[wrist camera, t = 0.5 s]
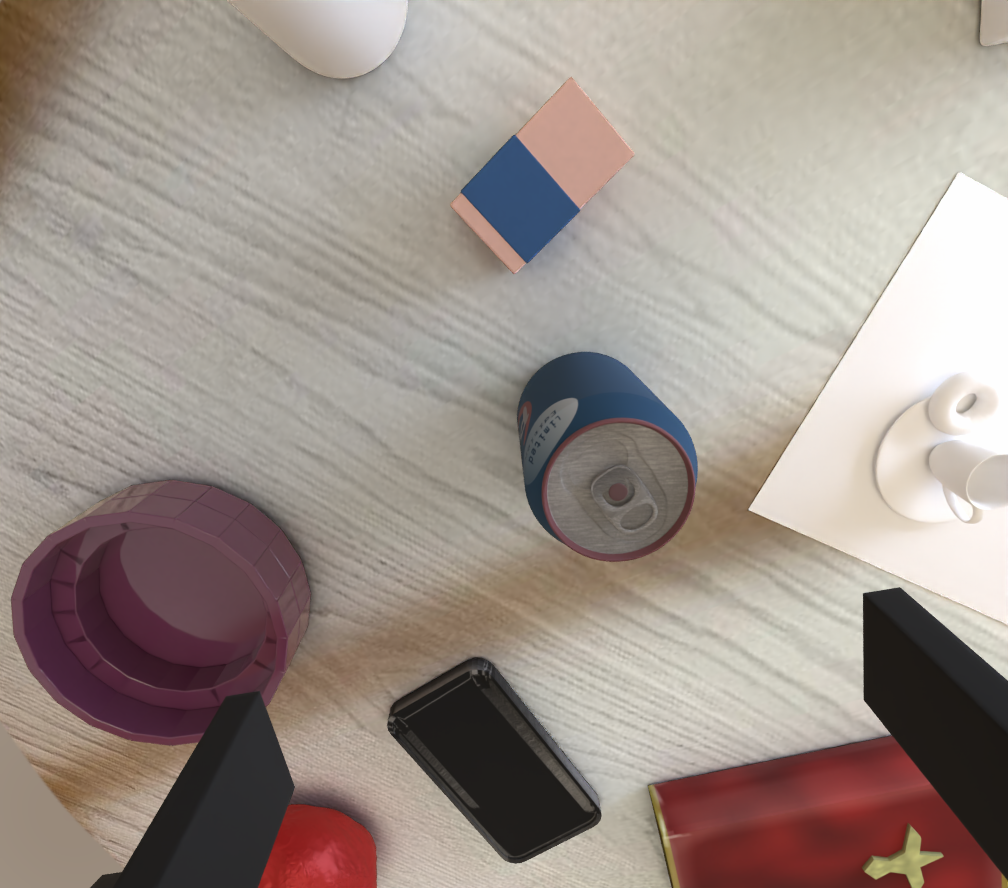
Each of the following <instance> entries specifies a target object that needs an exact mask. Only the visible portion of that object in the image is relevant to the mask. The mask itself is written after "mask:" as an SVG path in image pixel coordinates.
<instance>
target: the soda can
mask: <svg viewBox="0 0 1008 888" xmlns="http://www.w3.org/2000/svg"><path fill="white" fill-rule="evenodd" d="M517 422H518V431H519V440H520V449H521V457H522V466H523V475H524V484H525V491H526V496H527V499H528V503H529V505H530V508H531V510H532V512H533V514H534V515H535V517H536V519H537V520H538V521H539V523H540V524H541V525H542V526H543V528H544V529H545V530H546V531H547V532H548V533H549V534H551V535H552V536H553V537H554V538H556V539H557V540H559V541H560V542H562V543H563V544H565V545H567V546H568V547H569V548H571V549H572V550H574V551H576V552H577V553H579V554H581V555H584V556H586V557H589V558H592V559H596V560H601V561H609V562H619V561H628V560H633V559H637V558H640V557H643V556H646V555H648V554H650V553H652V552H654V551H656V550H658V549H659V548H661V547H662V546H664V545H665V544H666V543H668V542H669V541H670V540H671V539H672V538H673V537H674V536H675V535H676V534H677V533H678V532H679V530H680V529H681V528H682V526H683V525H684V523H685V522H686V520H687V518H688V516H689V514H690V511H691V509H692V506H693V502H694V497H695V487H696V482H697V472H698V466H697V456H696V451H695V448H694V444H693V442H692V439H691V437H690V435H689V433H688V431H687V430H686V428H685V427H684V425H683V424H682V423H681V421H680V420H679V419H678V418H677V417H676V416H675V415H674V414H673V413H672V412H671V411H670V410H669V409H668V408H667V407H666V406H665V405H664V404H663V403H662V402H661V401H660V400H659V399H658V398H657V397H656V396H655V395H654V394H653V393H652V392H651V391H650V389H649V388H648V387H647V386H646V385H645V384H644V383H643V382H642V381H641V380H640V379H639V378H638V377H637V376H636V375H635V374H634V373H633V372H632V371H631V370H630V369H629V368H628V367H626V366H625V365H624V364H622V363H621V362H619V361H618V360H616V359H614V358H612V357H609V356H607V355H603V354H599V353H593V352H577V353H571V354H567V355H564V356H561V357H558V358H556V359H554V360H552V361H550V362H549V363H547V364H546V365H544V366H543V367H542V368H541V369H539V370H538V371H537V372H536V373H535V374H534V375H533V377H532V378H531V379H530V381H529V382H528V383H527V385H526V387H525V389H524V391H523V393H522V395H521V398H520V402H519V406H518V413H517Z"/></svg>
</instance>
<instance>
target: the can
mask: <svg viewBox="0 0 1008 888" xmlns="http://www.w3.org/2000/svg"><path fill="white" fill-rule="evenodd" d="M227 1H228V2H229V3H230V4H232V5H233V6H234V7H235V8H236V9H237V10H238V11H239V12H241V13H242V14H243V15H244V16H245V17H246V18H247V19H249V20H250V21H251V22H252V23H253V24H254V25H255V26H256V27H258V28H259V29H260V30H261V31H262V32H263V33H264V34H266V35H267V36H268V37H269V38H270V39H271V40H272V41H274V42H275V43H276V44H277V45H278V46H279V47H281V48H282V49H283V50H284V51H285V52H286V53H288V54H289V55H290V56H291V57H292V58H293V59H295V60H296V61H297V62H299V63H300V64H301V65H303V66H304V67H306V68H307V69H309V70H311V71H313V72H315V73H317V74H320V75H323V76H327V77H331V78H353V77H357V76H361V75H364V74H366V73H368V72H370V71H372V70H374V69H375V68H377V67H378V66H379V65H381V64H382V63H383V62H384V61H385V60H386V59H387V58H388V57H389V56H390V54H391V53H392V52H393V50H394V49H395V47H396V46H397V44H398V42H399V40H400V38H401V35H402V32H403V29H404V26H405V22H406V16H407V6H408V0H227Z"/></svg>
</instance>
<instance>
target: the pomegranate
mask: <svg viewBox="0 0 1008 888" xmlns="http://www.w3.org/2000/svg"><path fill="white" fill-rule="evenodd" d="M376 861H377V856H376V846H375V844H374V840H373V838H372V836H371V834H370V833H369V832H368V831H367V829H366V828H365V827H364V826H362V825H361V824H359V823H358V822H356V821H354V820H353V819H351V818H350V817H348V816H347V815H345V814H343V813H342V812H339V811H337V810H334V809H331V808H325V807H315V806H310V805H305V804H295V805H294V804H291V805H288V807H287V810H286V813H285V816H284V818H283V821H282V824H281V826H280V829H279V832H278V835H277V837H276V840H275V843H274V845H273V848H272V851H271V854H270V856H269V859H268V862H267V864H266V867H265V870H264V873H263V875H262V878H261V881H260V884H259V886H258V888H377V882H376V880H377V868H376Z"/></svg>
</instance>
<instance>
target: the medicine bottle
mask: <svg viewBox="0 0 1008 888" xmlns="http://www.w3.org/2000/svg"><path fill="white" fill-rule="evenodd" d="M1007 42H1008V0H982V3H981V23H980V43H981V44H982V45H983V46H991V45H997V44H1002V43H1007Z"/></svg>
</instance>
